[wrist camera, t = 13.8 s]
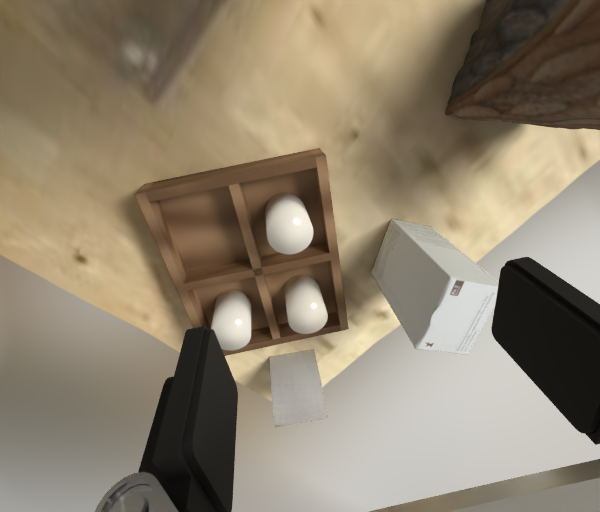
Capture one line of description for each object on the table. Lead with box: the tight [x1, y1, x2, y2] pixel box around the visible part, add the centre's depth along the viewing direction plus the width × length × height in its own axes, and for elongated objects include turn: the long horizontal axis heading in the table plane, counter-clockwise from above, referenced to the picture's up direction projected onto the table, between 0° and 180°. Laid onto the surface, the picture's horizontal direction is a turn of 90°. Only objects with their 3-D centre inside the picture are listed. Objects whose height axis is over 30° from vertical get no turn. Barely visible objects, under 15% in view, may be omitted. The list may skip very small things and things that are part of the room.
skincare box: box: [371, 219, 499, 355], centre depth 37 cm, size 8×6×15 cm
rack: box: [135, 148, 348, 356], centre depth 40 cm, size 23×19×4 cm
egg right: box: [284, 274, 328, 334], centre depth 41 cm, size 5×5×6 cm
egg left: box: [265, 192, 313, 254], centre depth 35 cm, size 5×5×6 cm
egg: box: [211, 289, 252, 350], centre depth 40 cm, size 5×5×6 cm
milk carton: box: [269, 349, 327, 427], centre depth 46 cm, size 4×7×10 cm, turn 96°
